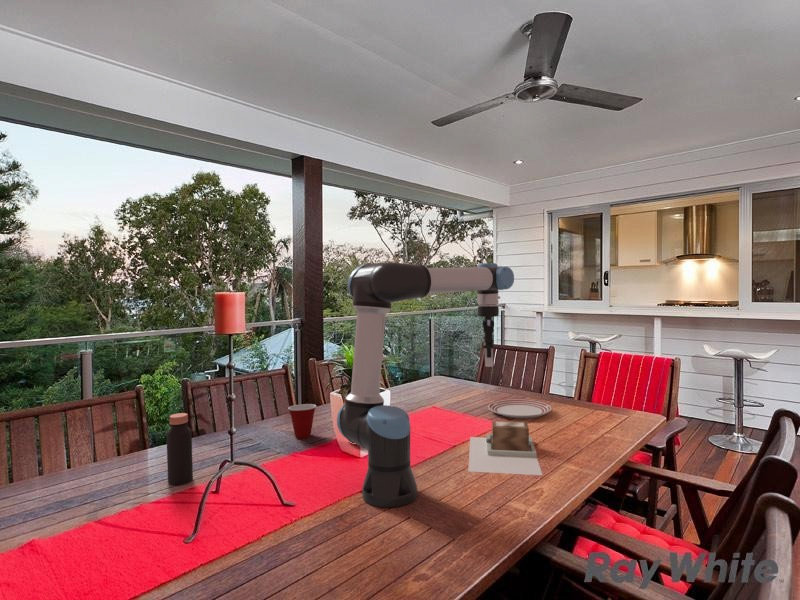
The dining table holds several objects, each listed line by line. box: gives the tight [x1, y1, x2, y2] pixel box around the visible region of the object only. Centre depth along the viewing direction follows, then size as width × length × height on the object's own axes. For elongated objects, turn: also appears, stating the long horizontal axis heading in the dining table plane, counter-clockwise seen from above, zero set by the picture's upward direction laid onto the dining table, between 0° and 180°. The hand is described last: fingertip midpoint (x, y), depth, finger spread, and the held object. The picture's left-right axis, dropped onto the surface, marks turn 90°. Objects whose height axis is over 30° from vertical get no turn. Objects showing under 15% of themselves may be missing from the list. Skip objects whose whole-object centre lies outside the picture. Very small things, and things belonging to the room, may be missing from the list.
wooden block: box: [491, 420, 530, 451], centre depth 160 cm, size 12×7×8 cm, turn 80°
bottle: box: [166, 412, 194, 487], centre depth 137 cm, size 7×7×20 cm
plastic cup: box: [287, 403, 317, 440], centre depth 176 cm, size 11×11×12 cm
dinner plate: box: [487, 398, 553, 420], centre depth 204 cm, size 28×27×3 cm
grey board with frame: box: [467, 433, 543, 476], centre depth 154 cm, size 22×32×3 cm
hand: (488, 363), depth 167 cm, fingers open, 13 cm apart
